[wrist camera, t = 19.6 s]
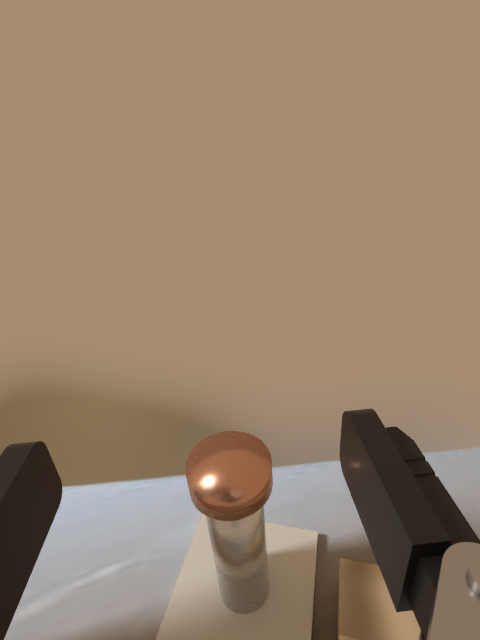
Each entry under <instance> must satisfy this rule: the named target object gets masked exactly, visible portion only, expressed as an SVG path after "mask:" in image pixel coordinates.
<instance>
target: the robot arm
mask: <svg viewBox="0 0 480 640" xmlns="http://www.w3.org/2000/svg"><path fill="white" fill-rule="evenodd" d="M340 462H341V467H342V471H343V475H344V478H345V480H346V483H347V485H348V488H349V490H350V493H351V496H352V498H353V501H354V503H355V506H356V509H357V511H358V514H359V516H360V519H361V522H362V524H363V527H364V529H365V532H366V534H367V537H368V540H369V542H370V545H371V547H372V550H373V553H374V555H375V558H376V560H377V563H378V565H379V568H380V571H381V573H382V576H383V578H384V581H385V584H386V586H387V589H388V591H389V594H390V597H391V599H392V602H393V604H394V607H395V609H396V612H403V611H412V610H413V613H414V615H415V617H416V620H417V622H418V624H419V627H420V629H421V630H420V633H419V639H418V640H480V540H479V538H478V537H477V536H476V534H475V533H474V531H473V530H472V528H471V527H470V525H469V524H468V522H467V521H466V519H465V517H464V516H463V514H462V513H461V511H460V510H459V508H458V507H457V505H456V504H455V502H454V501H453V499H452V498H451V496H450V495H449V493H448V492H447V490H446V489H445V487H444V486H443V484H442V483H441V481H440V480H439V478H438V477H436V476H435V472H434V471H433V469H432V468H431V466H430V465H429V463H428V462H426V460H425V457H424V455H423V454H422V452H421V451H420V449H419V448H418V447H417V445H416V443H415V442H414V440H412V439H411V438H410V437H409V436H407V435H406V434H405V433H404V432H402V431H401V430H400V429H398V428H397V427H388V428H385V427H384V425H383V424H382V422H381V420H380V419H379V417H378V415H377V414H376V412H375V411H374V410H373V409H364V410H354V411H345V412H344V413H343V416H342V428H341V442H340ZM61 497H62V483H61V479H60V477H59V475H58V472H57V470H56V468H55V465H54V463H53V461H52V458H51V456H50V454H49V451H48V449H47V447H46V445H45V444H44V443H43V442H41V441H40V442H30V443H20V444H11V445H9V446H8V447H6V449H5V450H4V451H3V453H2V454H1V456H0V640H4V638H5V635H6V633H7V630H8V628H9V626H10V623H11V621H12V618H13V616H14V613H15V611H16V609H17V606H18V604H19V601H20V599H21V597H22V594H23V592H24V589H25V587H26V585H27V582H28V580H29V577H30V575H31V573H32V570H33V568H34V565H35V563H36V561H37V558H38V556H39V553H40V551H41V548H42V546H43V544H44V541H45V539H46V536H47V534H48V532H49V529H50V527H51V524H52V522H53V520H54V517H55V515H56V512H57V510H58V508H59V505H60V502H61Z"/></svg>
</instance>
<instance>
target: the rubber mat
mask: <svg viewBox="0 0 480 640" xmlns="http://www.w3.org/2000/svg"><path fill="white" fill-rule="evenodd" d="M265 532H266V544H267V557H268V570H269V583H270V588H269V594H268V597H267V599H266V601H265V603H264V604H263V605H262V606H261V607H260V608H259V609H258V610H256V611H255V612H253V613H249V614H238V613H235V612H233V611H232V610H230V609H229V608H228V607H227V606H226V605H225V604H224V602H223V600H222V598H221V594H220V589H219V584H218V579H217V573H216V568H215V563H214V557H213V552H212V546H211V541H210V536H209V530H208V525H207V520H206V515H204V514H203V513H202V515H201V518H200V520H199V523H198V526H197V528H196V531H195V534H194V536H193V539H192V542H191V545H190V547H189V550H188V553H187V555H186V558H185V561H184V563H183V566H182V569H181V572H180V574H179V577H178V580H177V582H176V585H175V588H174V591H173V593H172V596H171V599H170V601H169V604H168V607H167V609H166V612H165V615H164V618H163V620H162V623H161V626H160V628H159V631H158V634H157V636H156V639H155V640H311V635H312V619H313V604H314V588H315V572H316V556H317V541H318V532H315V531H310V530H305V529H299V528H294V527H288V526H283V525H277V524H272V523H266V522H265Z"/></svg>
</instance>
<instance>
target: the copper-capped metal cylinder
mask: <svg viewBox="0 0 480 640" xmlns="http://www.w3.org/2000/svg"><path fill="white" fill-rule="evenodd" d="M185 470H186V477H187V482H188V487H189V492H190V496H191V499H192V502H193V504H194V505H195V507H196V508H197V509H198V510H199V511H200V512H201V513H203V514H204V515H206V520H207V525H208V530H209V536H210V541H211V546H212V552H213V557H214V563H215V568H216V573H217V579H218V584H219V589H220V594H221V598H222V600H223V602H224V604H225V605H226V606H227V607H228V608H229V609H230V610H232V611H233V612H235V613H238V614H249V613H253V612H255V611H256V610H258V609H259V608H260V607H261V606H262V605H263V604H264V603H265V601H266V599H267V597H268V594H269V588H270V583H269V570H268V557H267V544H266V532H265V519H264V506H263V505H264V504H265V503H266V502H267V500H268V498H269V496H270V494H271V491H272V486H273V478H272V461H271V455H270V452H269V450H268V448H267V447H266V445H265V444H264V443H263V442H262V441H261V440H259V439H258V438H257V437H255V436H253V435H250V434H248V433H244V432H239V431H227V432H221V433H217V434H214V435H212V436H209V437H207V438H206V439H204V440H202V441H201V442H200V443H199V444H197V445H196V446H195V447H194V449H193V450H192V451H191V453H190V454H189V456H188V459H187V462H186V468H185Z"/></svg>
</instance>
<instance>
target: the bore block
mask: <svg viewBox="0 0 480 640" xmlns="http://www.w3.org/2000/svg"><path fill="white" fill-rule="evenodd" d="M420 630H421V629H420V627H419V624H418V622H417V620H416V617H415V615H414V613H413V610H412V611H403V612H396V609H395V607H394V604H393V602H392V599H391V597H390V594H389V591H388V589H387V586H386V584H385V581H384V578H383V576H382V573H381V571H380V568H379V565H375V564H370V563H365V562H360V561H355V560H350V559H345V558H340V564H339V579H338V633H337V640H418V639H419V633H420Z"/></svg>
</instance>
